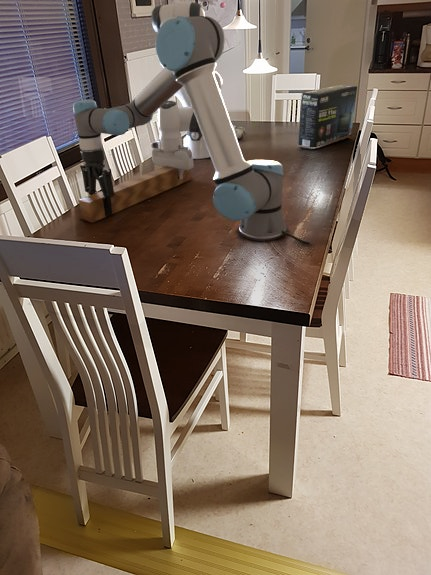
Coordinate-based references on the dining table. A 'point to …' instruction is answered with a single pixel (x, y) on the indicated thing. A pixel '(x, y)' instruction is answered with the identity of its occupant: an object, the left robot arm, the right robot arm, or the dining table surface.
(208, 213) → the dining table surface
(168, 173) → the bar
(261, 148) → the dining table surface
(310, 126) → the router box
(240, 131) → the fossil
